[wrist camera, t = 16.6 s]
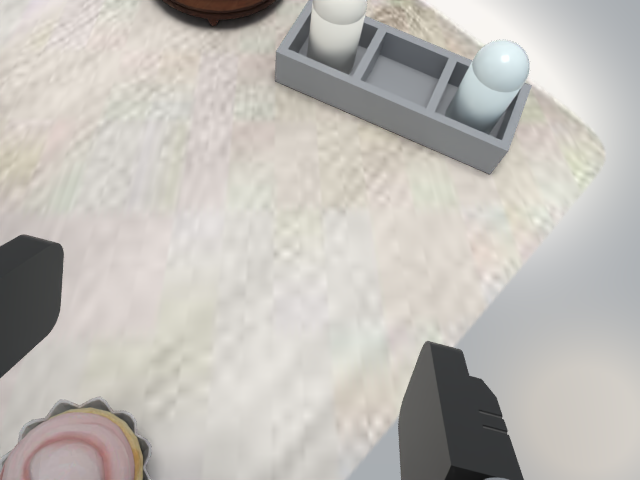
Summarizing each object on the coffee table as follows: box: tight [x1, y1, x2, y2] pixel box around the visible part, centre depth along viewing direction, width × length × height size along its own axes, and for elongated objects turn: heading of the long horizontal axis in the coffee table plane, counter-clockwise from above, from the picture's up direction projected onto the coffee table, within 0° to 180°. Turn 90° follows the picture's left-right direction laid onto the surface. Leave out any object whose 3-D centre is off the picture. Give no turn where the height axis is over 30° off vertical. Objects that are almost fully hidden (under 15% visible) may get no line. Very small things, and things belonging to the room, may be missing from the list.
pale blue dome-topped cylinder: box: [445, 40, 529, 135], centre depth 46 cm, size 5×5×9 cm
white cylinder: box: [307, 0, 367, 75], centre depth 47 cm, size 5×5×9 cm
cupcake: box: [0, 397, 152, 480], centre depth 32 cm, size 9×9×10 cm
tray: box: [275, 0, 532, 174], centre depth 50 cm, size 22×8×4 cm, turn 66°
